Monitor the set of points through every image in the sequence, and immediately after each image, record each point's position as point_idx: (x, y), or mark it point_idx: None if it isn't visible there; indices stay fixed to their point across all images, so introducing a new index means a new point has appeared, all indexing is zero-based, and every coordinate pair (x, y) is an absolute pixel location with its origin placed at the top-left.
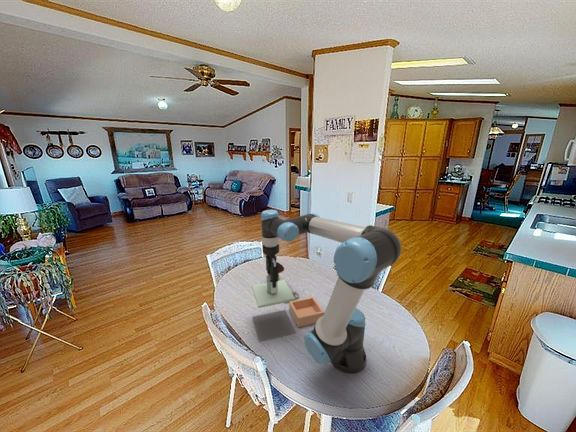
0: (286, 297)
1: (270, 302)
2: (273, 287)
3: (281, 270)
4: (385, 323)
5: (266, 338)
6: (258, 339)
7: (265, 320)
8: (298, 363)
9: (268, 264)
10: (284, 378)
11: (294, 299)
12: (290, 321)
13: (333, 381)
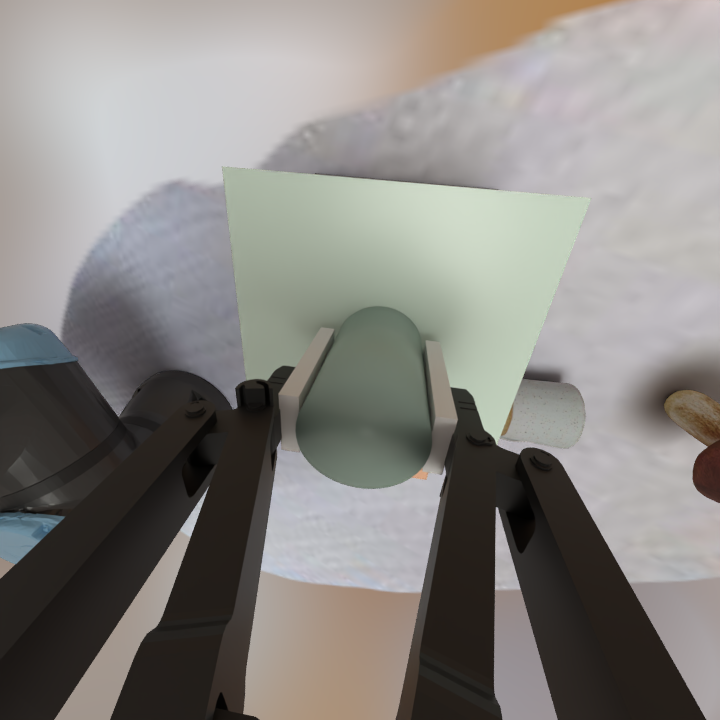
0: None
1: (245, 283)
2: (277, 373)
3: (704, 483)
4: (275, 535)
5: None
6: (329, 175)
7: None
8: (189, 285)
9: (422, 624)
10: (138, 215)
11: None
12: None
13: (123, 344)
